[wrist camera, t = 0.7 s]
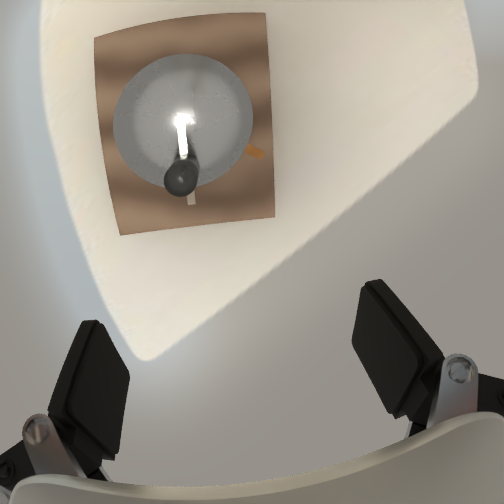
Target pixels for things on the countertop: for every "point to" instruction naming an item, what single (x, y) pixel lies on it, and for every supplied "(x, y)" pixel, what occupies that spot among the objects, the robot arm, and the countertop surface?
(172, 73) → the dial
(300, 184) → the countertop surface
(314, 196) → the countertop surface
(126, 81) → the dial board
